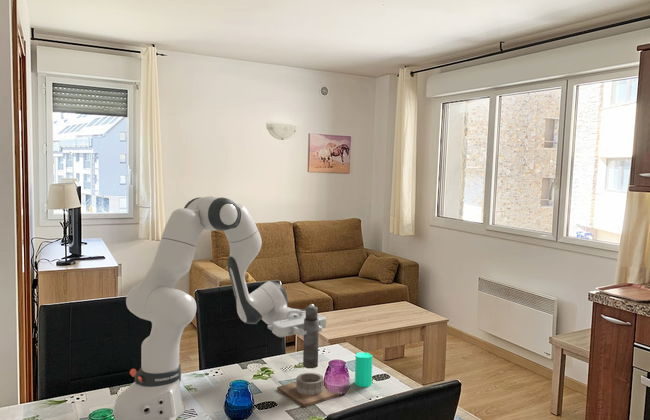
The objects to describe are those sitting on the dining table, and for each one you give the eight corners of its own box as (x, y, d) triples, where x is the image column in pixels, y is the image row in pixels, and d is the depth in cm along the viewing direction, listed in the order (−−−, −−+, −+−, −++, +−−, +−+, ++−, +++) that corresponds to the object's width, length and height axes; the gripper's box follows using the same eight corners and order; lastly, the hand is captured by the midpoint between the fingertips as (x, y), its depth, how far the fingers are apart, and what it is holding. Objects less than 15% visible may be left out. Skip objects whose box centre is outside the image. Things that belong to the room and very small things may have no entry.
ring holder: (304, 407, 159) (304, 392, 159) (277, 389, 172) (277, 375, 172) (342, 394, 169) (343, 380, 169) (314, 379, 182) (314, 365, 182)
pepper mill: (308, 369, 167) (310, 306, 165) (300, 364, 171) (301, 303, 169) (320, 366, 170) (322, 304, 168) (311, 361, 174) (313, 301, 172)
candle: (372, 387, 176) (373, 353, 175) (355, 386, 176) (356, 353, 175) (371, 380, 182) (372, 348, 181) (354, 379, 182) (355, 347, 181)
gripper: (264, 317, 173) (287, 327, 162) (312, 308, 185) (336, 317, 175) (264, 335, 173) (286, 346, 162) (312, 325, 186) (335, 335, 175)
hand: (312, 331), depth 169 cm, fingers closed on pepper mill, 5 cm apart
